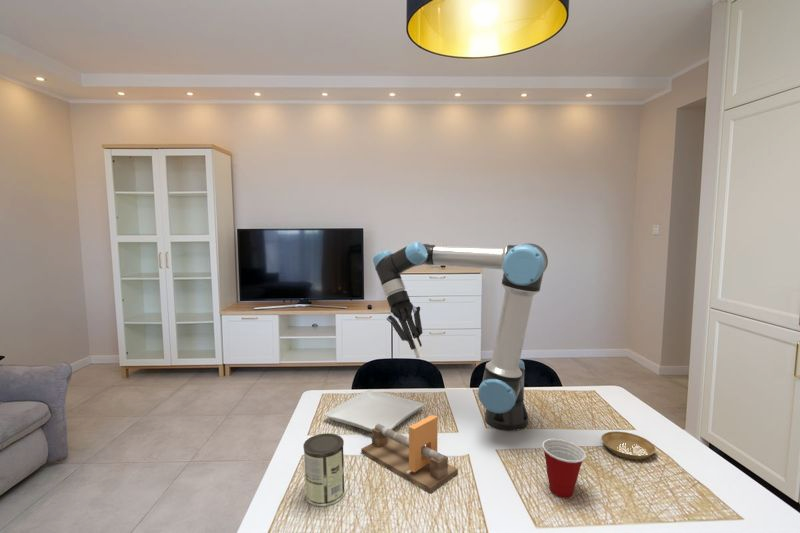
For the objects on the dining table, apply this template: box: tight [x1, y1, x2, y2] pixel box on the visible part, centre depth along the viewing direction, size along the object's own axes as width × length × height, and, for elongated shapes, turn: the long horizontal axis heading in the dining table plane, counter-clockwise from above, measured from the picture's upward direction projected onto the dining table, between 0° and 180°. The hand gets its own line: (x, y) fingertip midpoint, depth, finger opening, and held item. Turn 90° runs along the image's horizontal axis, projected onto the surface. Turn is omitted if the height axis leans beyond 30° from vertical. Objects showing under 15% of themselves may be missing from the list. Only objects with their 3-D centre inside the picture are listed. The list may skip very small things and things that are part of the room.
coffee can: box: [303, 432, 346, 507], centre depth 109 cm, size 10×10×14 cm
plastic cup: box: [541, 438, 587, 499], centre depth 109 cm, size 11×11×12 cm
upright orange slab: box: [408, 414, 438, 472], centre depth 118 cm, size 2×10×12 cm, turn 135°
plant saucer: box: [601, 430, 656, 461], centre depth 130 cm, size 15×15×3 cm
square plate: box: [324, 389, 425, 433], centre depth 154 cm, size 27×27×4 cm
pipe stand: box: [360, 424, 459, 494], centre depth 123 cm, size 28×12×8 cm, turn 46°
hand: (420, 357), depth 142 cm, fingers closed
